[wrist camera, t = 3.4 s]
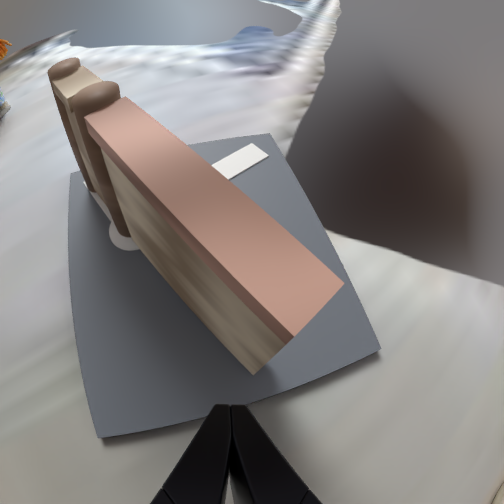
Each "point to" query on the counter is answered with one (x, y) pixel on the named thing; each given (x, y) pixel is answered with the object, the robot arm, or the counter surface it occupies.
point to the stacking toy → (499, 496)
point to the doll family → (0, 104)
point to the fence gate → (201, 230)
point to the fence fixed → (64, 88)
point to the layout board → (184, 319)
